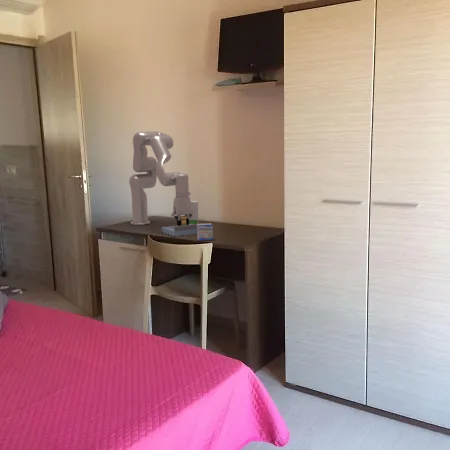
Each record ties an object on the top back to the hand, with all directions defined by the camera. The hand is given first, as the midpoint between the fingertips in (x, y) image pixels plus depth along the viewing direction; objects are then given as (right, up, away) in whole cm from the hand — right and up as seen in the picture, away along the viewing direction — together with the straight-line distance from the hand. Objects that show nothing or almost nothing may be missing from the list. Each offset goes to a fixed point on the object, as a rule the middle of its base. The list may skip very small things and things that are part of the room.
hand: (183, 226), depth 301 cm
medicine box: (+13, -8, -20) cm, 25 cm away
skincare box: (+3, 0, +21) cm, 22 cm away
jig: (0, -4, +1) cm, 4 cm away
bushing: (0, -2, 0) cm, 2 cm away
